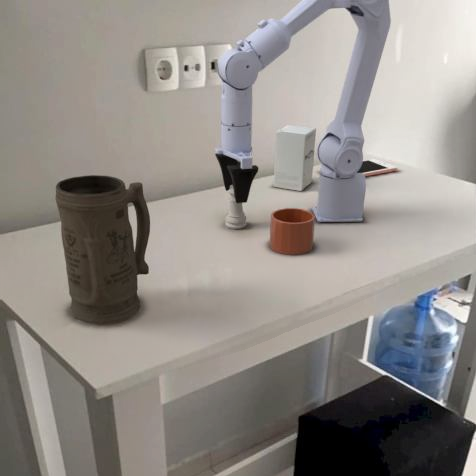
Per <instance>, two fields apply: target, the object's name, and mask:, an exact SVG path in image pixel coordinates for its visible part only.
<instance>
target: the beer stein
mask: <svg viewBox="0 0 476 476" xmlns="http://www.w3.org/2000/svg"><path fill="white" fill-rule="evenodd" d="M55 203H56V206H57V210H58V215H59V218H60V232H61V233H60V234H61V243H62V247H63V254H64V261H65V267H66V268H65V269H66V275H67V284H68V294H69V296H70V298H71V302H70V310H71V313H72V315H73V316H74V318H76V319H77V320H79V321H81V322H84V323H89V324H95V325H109V324H115V323H120V322H123V321H125V320H128V319H130V318H132V317H133V316H135V315H136V314H137V313H138V312H139V310H140V308H141V300H140V298H139V295H138V290H139V289H138V288H139V287H138V282H139V281H138V276H139V275H148V274H149V273H150V267H149V264H148V263H147V262H146V260H145V257H146V251H147V246H148V243H149V239H150V234H151V216H150V210H149V207H148V203H147V201H146V199H145V195H144V185H143V183H142V182H139V181H138V182H131V183H129V186H128V188H126V184H125V182H124V181H123V180H122V179H120V178H118V177H114V176H110V175H99V174H91V175H90V174H89V175H82V176H81V175H80V176H73V177H68V178H65V179H63V180H60V181H58V182H57V183H56V185H55ZM129 204H132V205H133V207H134V211H135V216H136V237H135V241H134V236H133V235H134V233H133V227H132V224H131V222H130V217H129ZM134 242H135V243H134Z"/></svg>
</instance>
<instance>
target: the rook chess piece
mask: <svg viewBox="0 0 476 476" xmlns="http://www.w3.org/2000/svg"><path fill="white" fill-rule="evenodd" d="M227 192H228V194H229V198H228V200H229V208H228V209H229V210H228V212H227V215H226V216H225V223H224V224H225V226H226V227H227V228H228V229H231V230H241V229H244V228H245V227H247V224H248V223H247V216H246V214H245V212H244V209H243V203H236V201H235V196H234V188H233V185H231V186H230V189H229V190H228V191H227Z"/></svg>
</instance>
